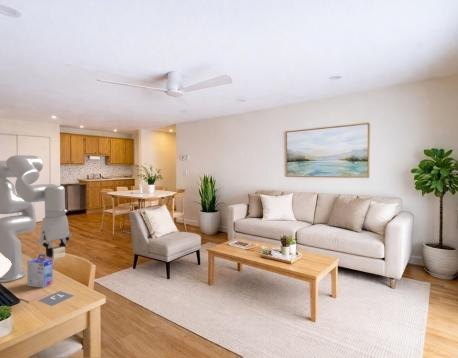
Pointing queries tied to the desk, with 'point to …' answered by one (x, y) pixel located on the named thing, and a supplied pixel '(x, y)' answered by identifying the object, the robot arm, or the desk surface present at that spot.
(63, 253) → the maple block
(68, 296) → the gray board
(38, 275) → the ink cartridge box
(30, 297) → the terracotta tile
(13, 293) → the desk surface
